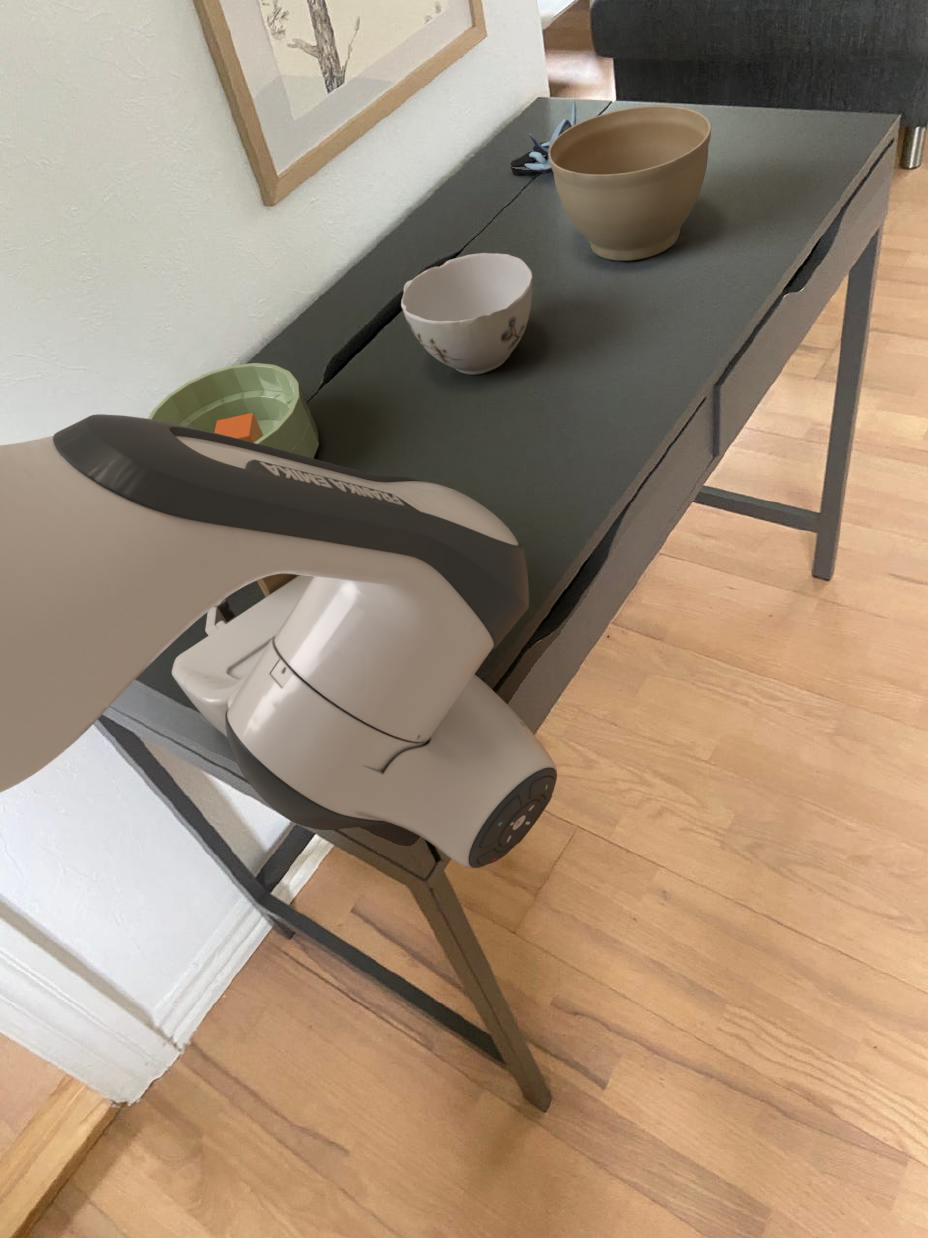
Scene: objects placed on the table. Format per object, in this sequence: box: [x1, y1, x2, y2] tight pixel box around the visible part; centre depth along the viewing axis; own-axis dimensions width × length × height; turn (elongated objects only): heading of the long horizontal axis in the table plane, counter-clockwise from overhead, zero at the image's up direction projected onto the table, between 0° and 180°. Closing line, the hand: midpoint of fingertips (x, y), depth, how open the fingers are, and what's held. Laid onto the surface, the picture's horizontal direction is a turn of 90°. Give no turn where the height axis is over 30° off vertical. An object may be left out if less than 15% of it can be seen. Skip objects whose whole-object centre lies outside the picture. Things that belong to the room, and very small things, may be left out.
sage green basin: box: [147, 362, 320, 459], centre depth 86 cm, size 15×15×6 cm
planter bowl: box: [548, 104, 712, 262], centre depth 96 cm, size 16×16×11 cm
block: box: [214, 413, 264, 443], centre depth 86 cm, size 4×4×4 cm
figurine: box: [510, 99, 577, 176], centre depth 114 cm, size 10×12×8 cm
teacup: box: [400, 252, 533, 375], centre depth 89 cm, size 15×12×8 cm
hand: (266, 565), depth 68 cm, fingers open, 8 cm apart
